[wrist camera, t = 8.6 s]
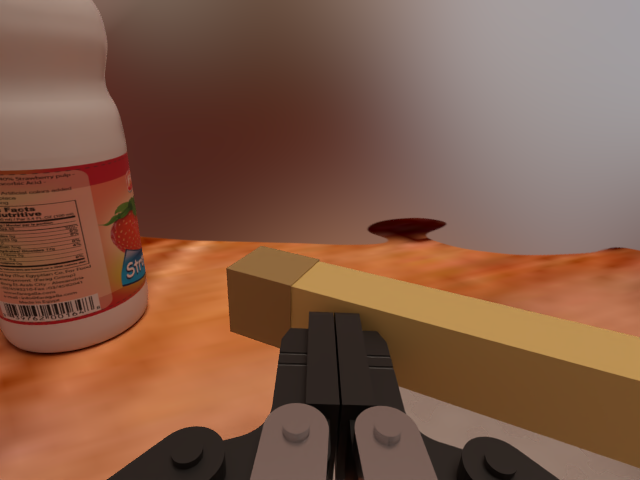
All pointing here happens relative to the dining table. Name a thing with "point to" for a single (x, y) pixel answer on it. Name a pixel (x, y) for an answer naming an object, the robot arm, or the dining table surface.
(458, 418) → the square base plate stand
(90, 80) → the fruit juice
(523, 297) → the dining table surface
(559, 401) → the lever handle
